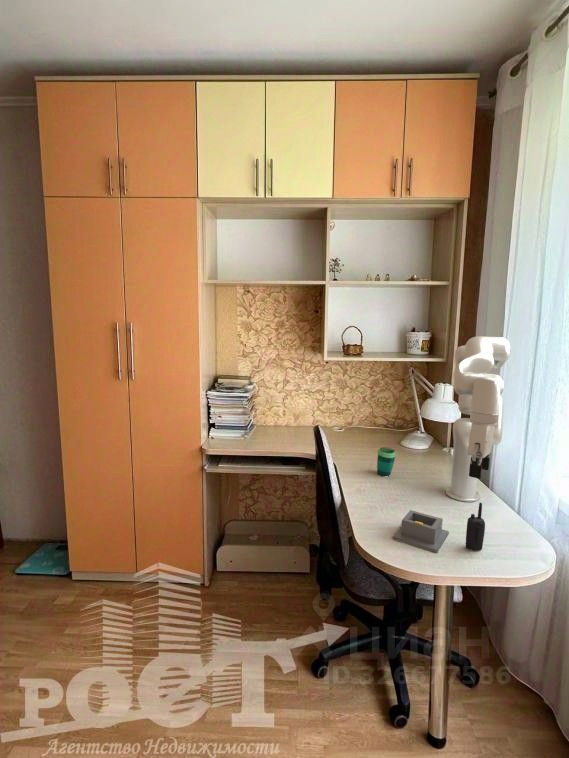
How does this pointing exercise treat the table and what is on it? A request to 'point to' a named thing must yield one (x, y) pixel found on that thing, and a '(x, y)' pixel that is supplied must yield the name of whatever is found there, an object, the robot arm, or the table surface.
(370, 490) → the table surface
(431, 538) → the charging dock
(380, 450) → the cup
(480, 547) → the two-way radio
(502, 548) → the table surface
